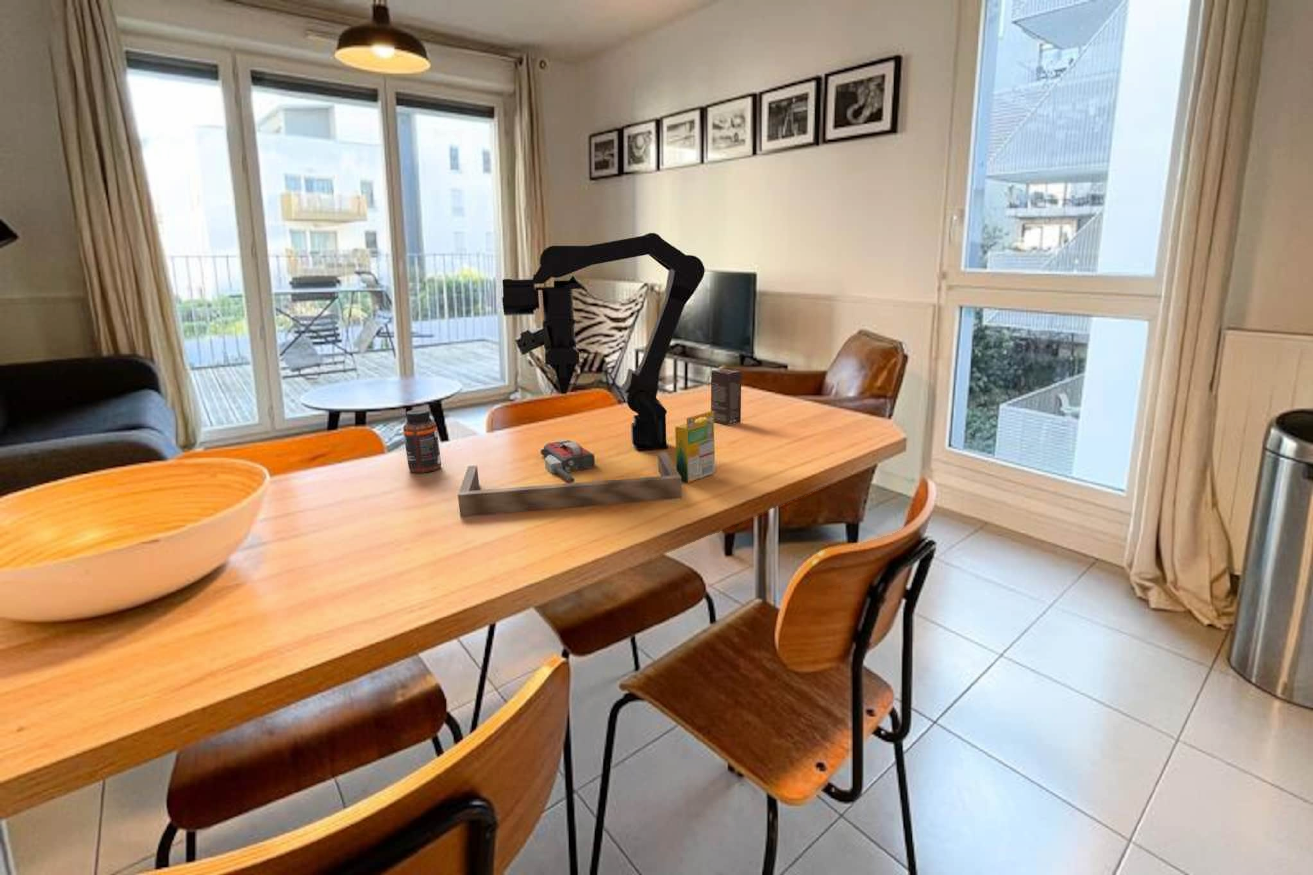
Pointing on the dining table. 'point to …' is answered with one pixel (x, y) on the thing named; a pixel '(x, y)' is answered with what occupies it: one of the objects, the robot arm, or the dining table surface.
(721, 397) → the box
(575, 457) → the walkie-talkie
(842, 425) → the dining table surface
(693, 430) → the crayon box
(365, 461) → the dining table surface
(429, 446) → the supplement bottle
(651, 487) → the brown shallow tray
